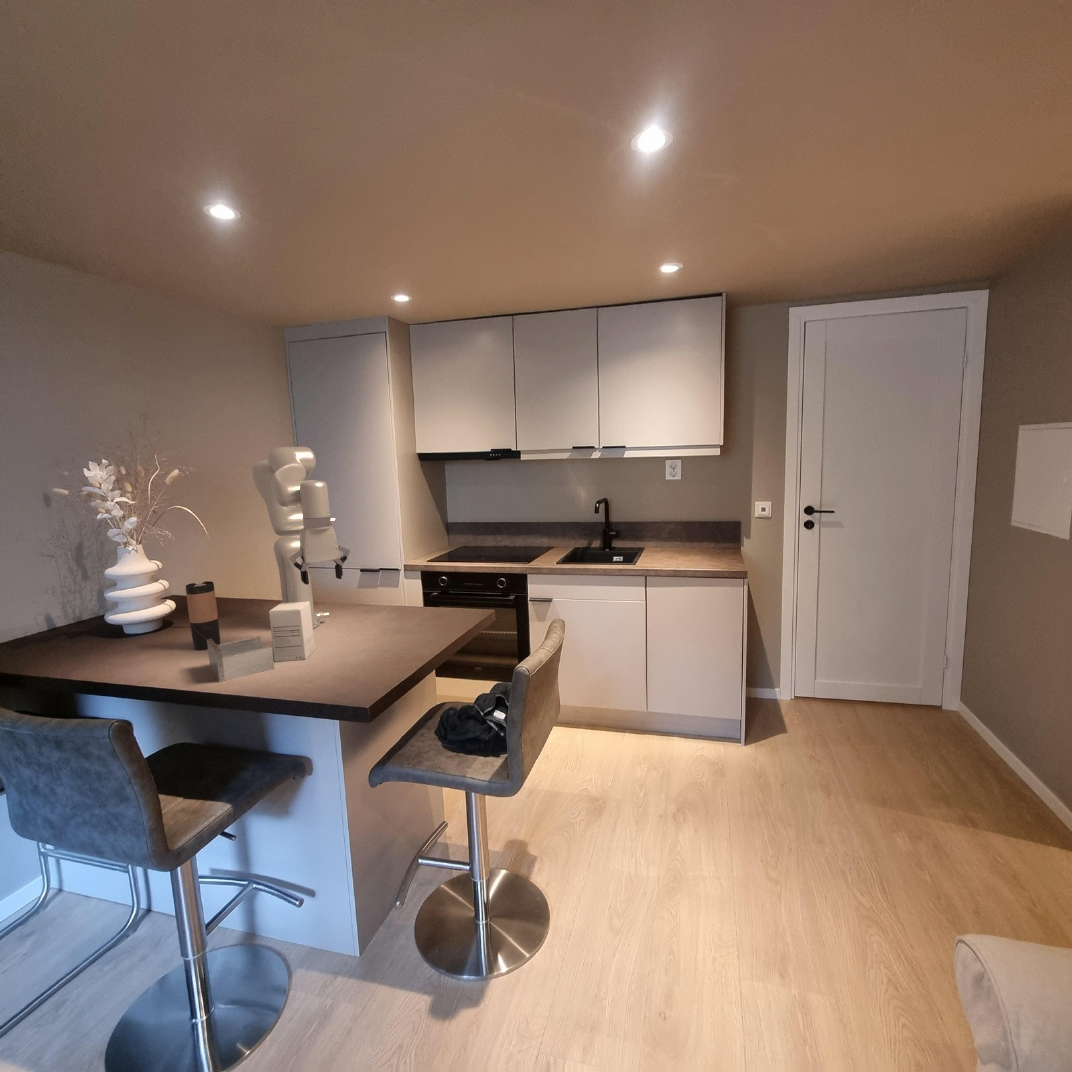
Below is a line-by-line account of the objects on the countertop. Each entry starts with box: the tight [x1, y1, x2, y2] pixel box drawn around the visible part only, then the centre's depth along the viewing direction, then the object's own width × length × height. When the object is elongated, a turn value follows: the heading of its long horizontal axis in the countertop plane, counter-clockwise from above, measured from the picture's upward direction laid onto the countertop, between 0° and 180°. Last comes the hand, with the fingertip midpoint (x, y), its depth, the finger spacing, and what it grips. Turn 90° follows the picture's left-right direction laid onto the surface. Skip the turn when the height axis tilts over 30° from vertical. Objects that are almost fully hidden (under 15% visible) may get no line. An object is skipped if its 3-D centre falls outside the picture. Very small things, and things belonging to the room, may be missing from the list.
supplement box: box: [268, 601, 316, 663], centre depth 163 cm, size 9×9×15 cm
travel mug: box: [185, 581, 221, 651], centre depth 175 cm, size 8×8×20 cm
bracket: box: [207, 635, 275, 683], centre depth 155 cm, size 13×14×8 cm
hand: (322, 581), depth 167 cm, fingers open, 9 cm apart
